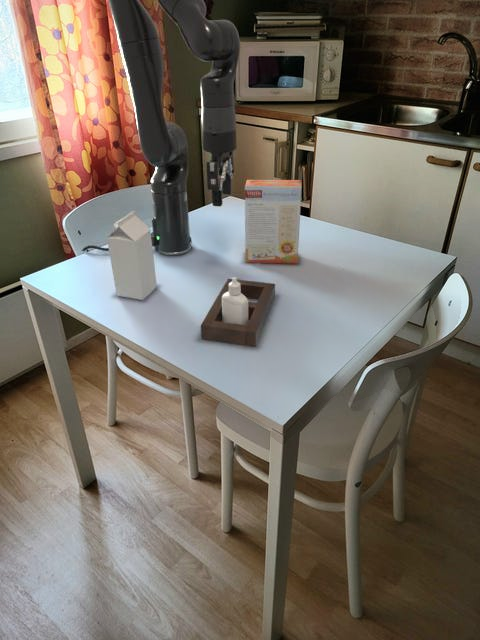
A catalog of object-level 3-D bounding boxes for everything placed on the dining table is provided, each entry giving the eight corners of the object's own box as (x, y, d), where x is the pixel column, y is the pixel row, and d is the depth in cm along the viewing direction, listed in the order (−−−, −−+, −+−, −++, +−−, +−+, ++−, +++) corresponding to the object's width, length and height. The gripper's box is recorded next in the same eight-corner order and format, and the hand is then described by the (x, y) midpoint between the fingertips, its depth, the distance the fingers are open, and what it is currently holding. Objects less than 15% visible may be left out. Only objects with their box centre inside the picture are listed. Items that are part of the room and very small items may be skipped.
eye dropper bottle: (231, 337, 99) (230, 286, 93) (220, 324, 104) (218, 274, 97) (250, 331, 101) (250, 281, 94) (238, 318, 105) (238, 269, 99)
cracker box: (297, 255, 132) (302, 179, 121) (297, 264, 127) (302, 186, 116) (246, 253, 133) (246, 177, 122) (244, 263, 128) (244, 185, 117)
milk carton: (157, 286, 118) (148, 212, 107) (143, 301, 112) (132, 223, 102) (131, 282, 120) (120, 209, 109) (116, 296, 114) (103, 220, 104)
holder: (201, 339, 99) (200, 325, 97) (228, 291, 116) (227, 278, 114) (255, 347, 96) (255, 332, 94) (274, 296, 113) (275, 283, 111)
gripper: (211, 120, 112) (215, 189, 121) (192, 134, 100) (198, 209, 109) (243, 121, 110) (244, 191, 119) (227, 134, 99) (230, 211, 107)
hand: (222, 199), depth 114 cm, fingers open, 8 cm apart
